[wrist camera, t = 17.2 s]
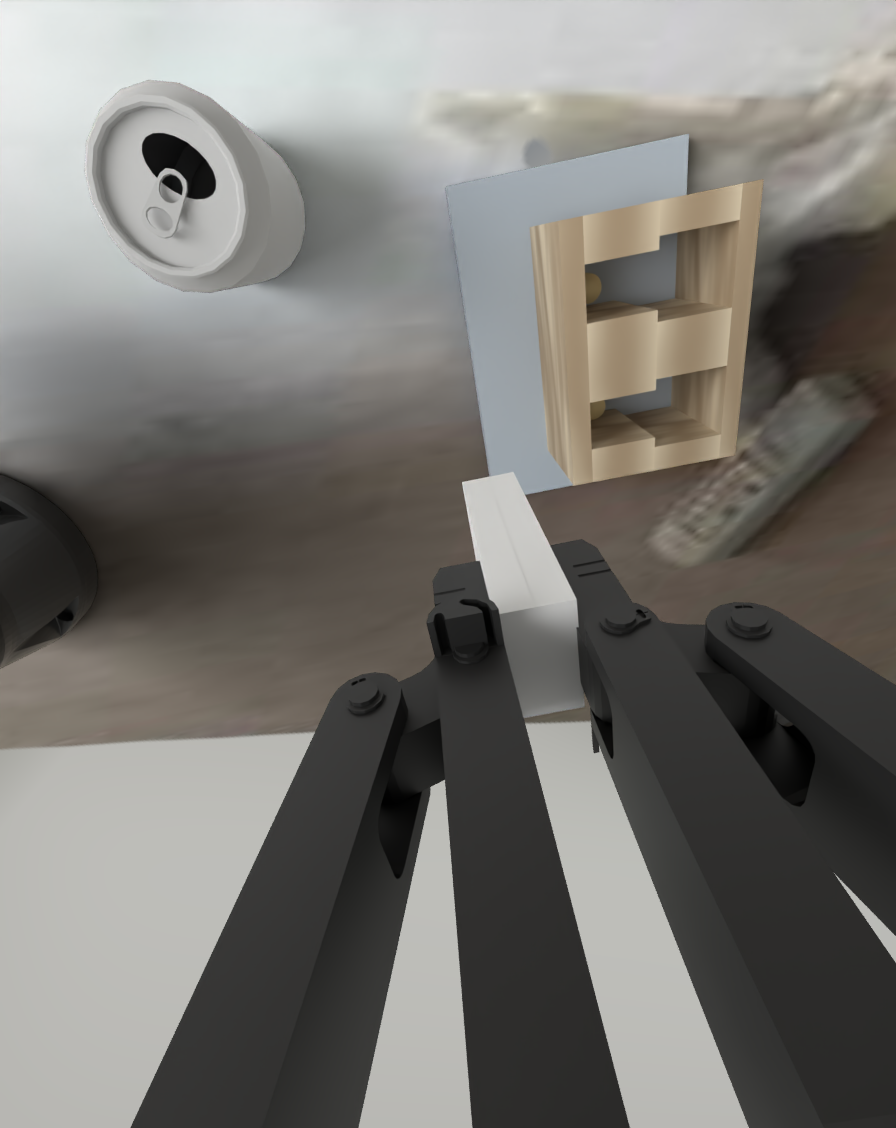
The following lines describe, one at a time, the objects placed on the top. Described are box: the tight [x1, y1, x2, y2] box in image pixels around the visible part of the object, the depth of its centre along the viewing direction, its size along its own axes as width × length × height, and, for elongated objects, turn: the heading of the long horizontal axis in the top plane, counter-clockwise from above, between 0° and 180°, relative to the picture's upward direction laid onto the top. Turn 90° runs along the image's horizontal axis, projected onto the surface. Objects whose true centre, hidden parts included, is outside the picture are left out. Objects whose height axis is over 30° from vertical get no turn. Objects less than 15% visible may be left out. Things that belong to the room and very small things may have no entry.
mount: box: [445, 134, 689, 495], centre depth 35 cm, size 14×20×4 cm
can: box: [85, 80, 306, 293], centre depth 27 cm, size 8×8×12 cm
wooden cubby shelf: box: [530, 179, 764, 486], centre depth 32 cm, size 10×14×7 cm
